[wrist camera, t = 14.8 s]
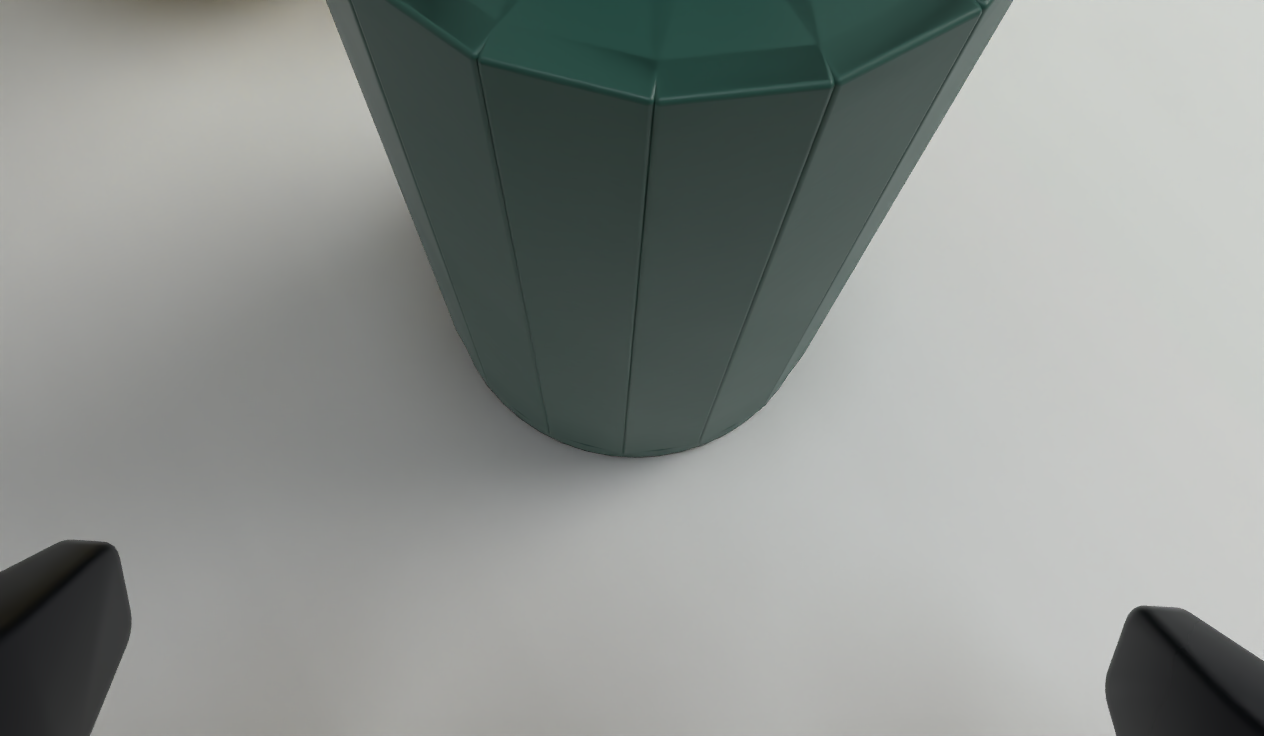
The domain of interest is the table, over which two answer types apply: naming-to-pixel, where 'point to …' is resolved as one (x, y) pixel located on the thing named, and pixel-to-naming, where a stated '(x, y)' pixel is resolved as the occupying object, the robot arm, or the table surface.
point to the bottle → (651, 185)
